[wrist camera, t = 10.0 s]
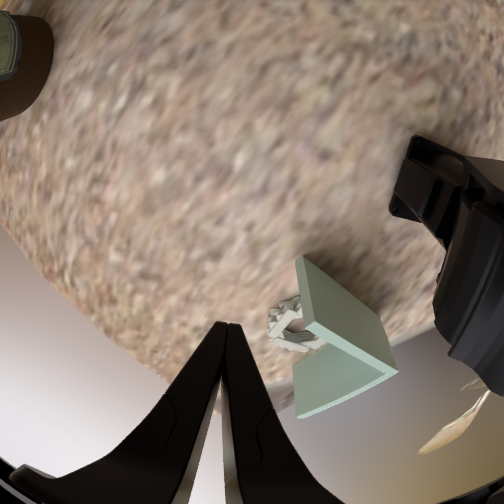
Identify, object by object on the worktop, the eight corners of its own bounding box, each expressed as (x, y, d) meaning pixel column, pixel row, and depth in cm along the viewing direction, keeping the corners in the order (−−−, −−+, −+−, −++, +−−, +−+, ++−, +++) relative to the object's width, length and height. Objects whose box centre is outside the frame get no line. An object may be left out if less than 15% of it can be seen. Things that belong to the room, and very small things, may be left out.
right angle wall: (301, 251, 22) (314, 320, 16) (378, 313, 26) (398, 371, 20) (217, 324, 28) (207, 387, 22) (297, 364, 32) (301, 418, 26)
